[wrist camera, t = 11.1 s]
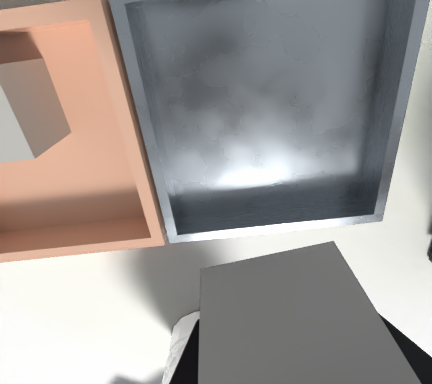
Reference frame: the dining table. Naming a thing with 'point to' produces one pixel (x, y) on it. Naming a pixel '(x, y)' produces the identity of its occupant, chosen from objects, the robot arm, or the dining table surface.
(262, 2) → the bin
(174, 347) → the white cup
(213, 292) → the grey cube
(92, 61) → the dish
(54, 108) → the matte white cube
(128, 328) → the dining table surface
